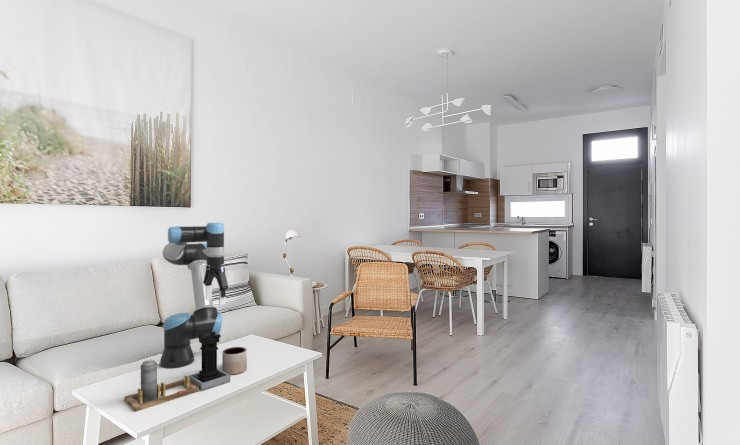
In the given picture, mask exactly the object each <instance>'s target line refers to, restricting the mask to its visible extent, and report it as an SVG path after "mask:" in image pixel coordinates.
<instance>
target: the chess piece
mask: <svg viewBox="0 0 740 445" xmlns="http://www.w3.org/2000/svg"><path fill="white" fill-rule="evenodd" d="M220 338H222V337H221V334H220V333H219V334H217V335H216V332H215V331H213V332H211V335H208V336H203V334H198V342H199V343H200V344H201V346H200V349H199V350H201V370H199V371H198V373H200V374H198V377H199V378H197V379H198V380H199V381H201V382H202V383H204V382H207V381H210V380H214V379H217V378H220V377H221V375H220V374H219V373H220V371H218V370H217V368H218V350H219V347H218V345H217V344H218V343H220Z"/></svg>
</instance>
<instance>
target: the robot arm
mask: <svg viewBox="0 0 740 445" xmlns="http://www.w3.org/2000/svg"><path fill="white" fill-rule="evenodd" d="M167 241H168V243H167V244H166V245H164V247H163V249H162V256H163V258H164V260H166V261H167V262H168V263H169V264H172V265H174V266H175V265H176V266H187V269H188V270H189V271H190V272H191V273H190V274H191V280H192V281H191V282H192V291H193V297H194V304H195V306H194V308H195V310H194V311H193V313H192V315H191V313H189V312H180V313H176V314H171V315H170V316H167V317H166V318H165V319H164V322H163V323H164V324H163V351H162V354H161V357H160V360H159V362H160V363H159V364H160V367H162V368H166V369H175V368H181V367H185V366H188V365H190V364H192V363H194V361H195V354H194V351H193V349H192V347H191V340H197V339H198V340H199V338H198V334H203V336H208V335H211V332H213V331H215V332H216V335H217V334H220V333H221V330H222V326H223V325H222V324H223V314H222V312H221V311H218V308H217V307H216V306H214V301H213V281H214V278H215V279H216V281H217V284H218V288H219V289H218V304H219V305H220V306H221V305H226V299H227V298H226V297H227V295H226V290H228V289H229V283H228V280H227V276H226V269H225V267H222V266H223V265H224V264H225V257H224V255H225V226H224V223H223V222H207V223H206V226H205V225H202V226H201V225H200V226H198V225H197V226H179V225H178V226H170V227H168V228H167Z"/></svg>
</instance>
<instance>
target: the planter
mask: <svg viewBox="0 0 740 445" xmlns="http://www.w3.org/2000/svg"><path fill="white" fill-rule="evenodd" d="M247 350H248V349H247V348H246V347H242V346H233V347H228V348H226V349H223V350H222V352H221V353H222V357H221V359H222V361H221V362H222V365H221V367H222V368H221V370H222V371H224V372H225V373H227V374H229V375H230V376H234V375H235V376H236V375H240V374H243V373H244V372H245V371H247V368H248V362H247V361H248V360H247V358H248V355H247V353H248V352H247Z"/></svg>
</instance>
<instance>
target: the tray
mask: <svg viewBox="0 0 740 445" xmlns="http://www.w3.org/2000/svg"><path fill="white" fill-rule="evenodd" d="M217 370H218V371H220V373H219V374H220V375H221V377H220V378H217V379H214V380H210V381H207V382H204V383H202V382H201V381H199V380H198V379H197V378H199V377H198V374H200V373H199V372H196V373H193V374H190V375H188V377H189V382H191V383H192V384H194V385H195V386H197V387H198V388H199V391H201V392H204V391H206V390H209V389H213V388H216V387H219V386H223V385H225V384H228V383H231V375H229V374H227V373H225V372H224V371H222V369H220V368H218V367H217Z"/></svg>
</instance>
